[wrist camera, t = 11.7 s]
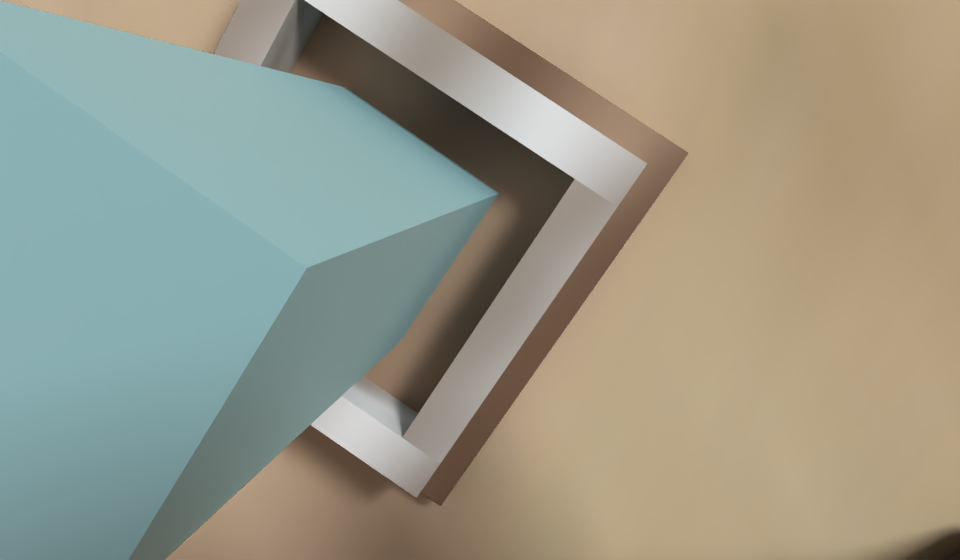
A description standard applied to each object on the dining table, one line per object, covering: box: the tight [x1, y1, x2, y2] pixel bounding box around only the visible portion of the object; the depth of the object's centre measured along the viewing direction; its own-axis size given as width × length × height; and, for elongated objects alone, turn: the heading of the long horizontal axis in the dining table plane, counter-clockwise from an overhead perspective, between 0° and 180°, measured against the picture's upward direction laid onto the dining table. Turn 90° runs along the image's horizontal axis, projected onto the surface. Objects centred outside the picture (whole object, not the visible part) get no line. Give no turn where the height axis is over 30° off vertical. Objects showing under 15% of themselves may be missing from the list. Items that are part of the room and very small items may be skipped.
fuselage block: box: [0, 1, 499, 560], centre depth 14 cm, size 5×5×13 cm
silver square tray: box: [214, 0, 688, 506], centre depth 20 cm, size 12×12×3 cm
